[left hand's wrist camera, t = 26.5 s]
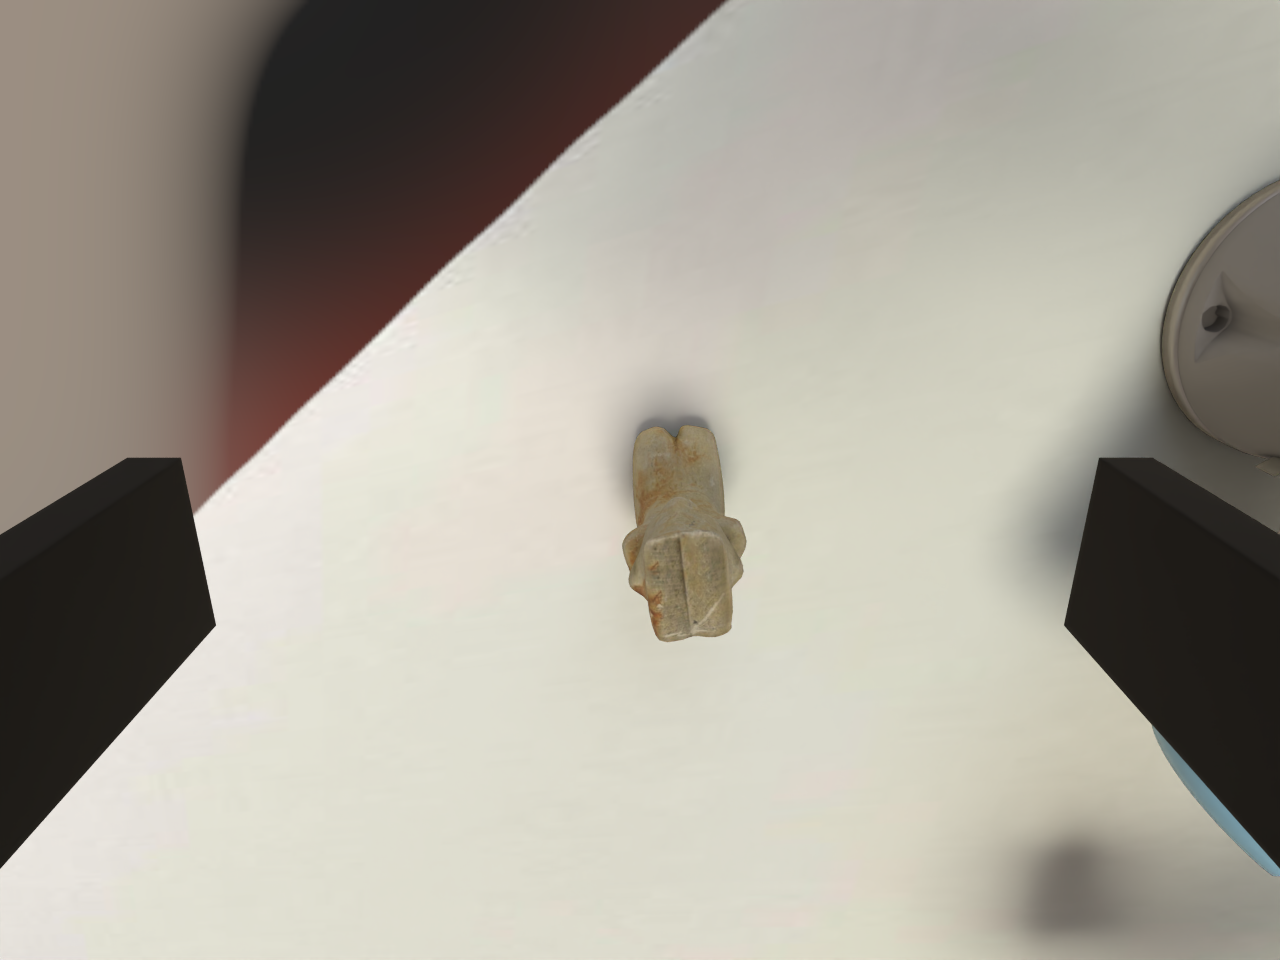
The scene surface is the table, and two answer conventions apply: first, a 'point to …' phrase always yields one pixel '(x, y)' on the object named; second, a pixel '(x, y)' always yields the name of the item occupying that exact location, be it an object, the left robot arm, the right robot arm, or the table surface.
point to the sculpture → (683, 535)
